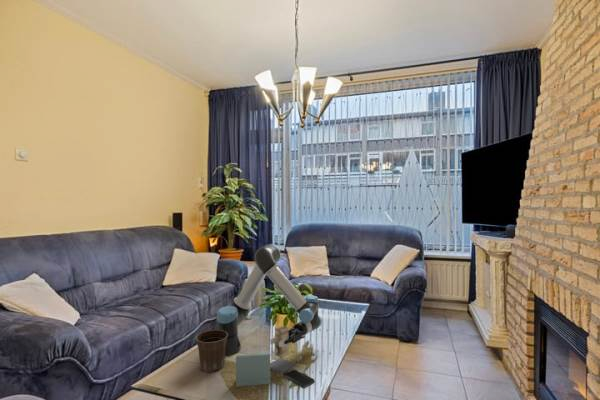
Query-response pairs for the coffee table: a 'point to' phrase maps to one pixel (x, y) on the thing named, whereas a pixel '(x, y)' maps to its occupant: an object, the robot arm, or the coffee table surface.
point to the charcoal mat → (281, 365)
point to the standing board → (252, 369)
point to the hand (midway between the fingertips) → (275, 343)
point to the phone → (299, 378)
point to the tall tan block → (280, 334)
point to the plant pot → (212, 349)
